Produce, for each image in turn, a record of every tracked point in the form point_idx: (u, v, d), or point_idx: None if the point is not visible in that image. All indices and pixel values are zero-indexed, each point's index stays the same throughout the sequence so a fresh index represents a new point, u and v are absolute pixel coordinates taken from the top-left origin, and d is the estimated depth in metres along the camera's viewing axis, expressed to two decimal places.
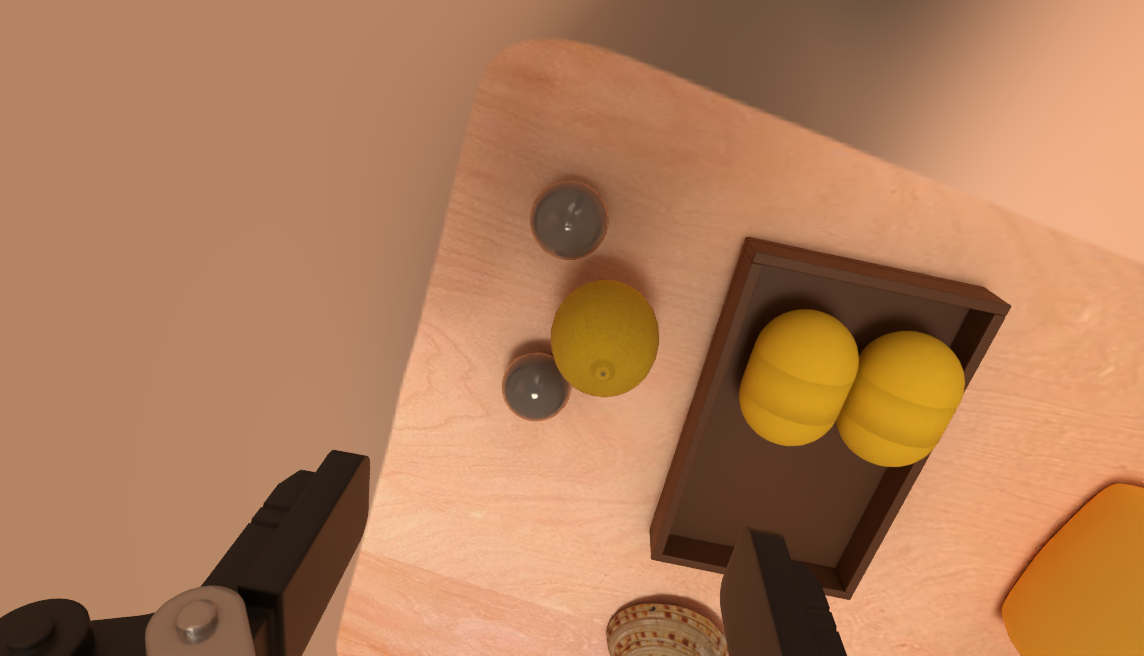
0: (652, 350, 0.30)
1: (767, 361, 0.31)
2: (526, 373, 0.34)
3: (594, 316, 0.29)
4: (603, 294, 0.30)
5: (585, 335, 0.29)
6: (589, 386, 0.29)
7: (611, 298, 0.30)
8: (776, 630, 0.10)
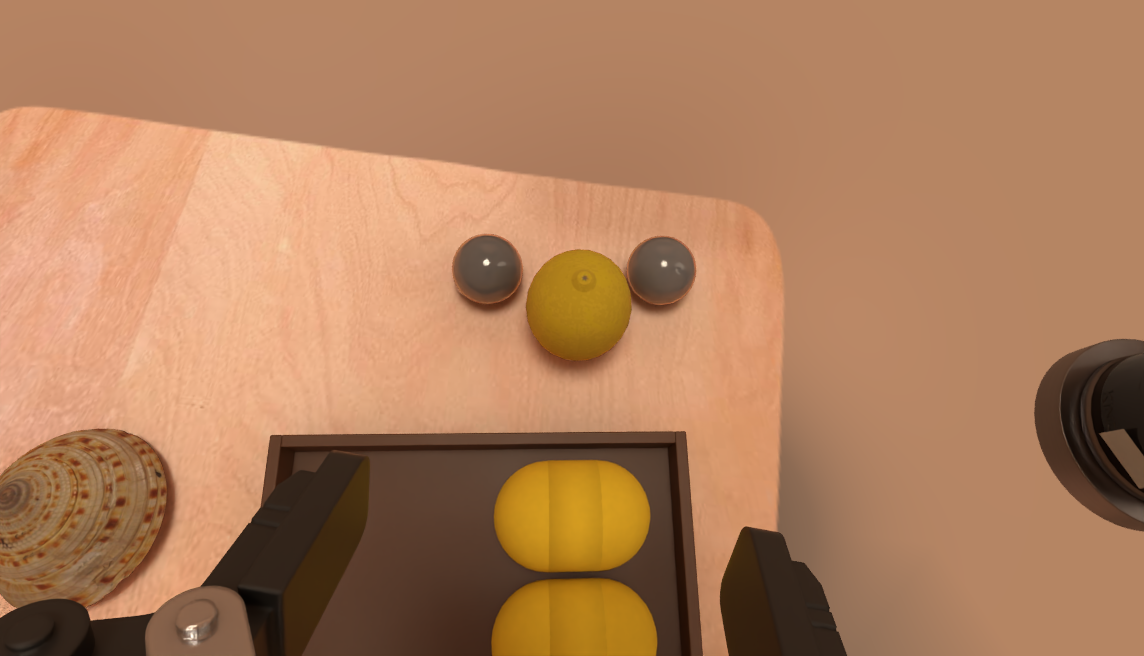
0: (597, 335, 0.30)
1: (597, 464, 0.30)
2: (512, 249, 0.34)
3: (621, 274, 0.31)
4: None
5: (608, 265, 0.30)
6: (559, 275, 0.30)
7: (630, 295, 0.32)
8: (776, 630, 0.10)
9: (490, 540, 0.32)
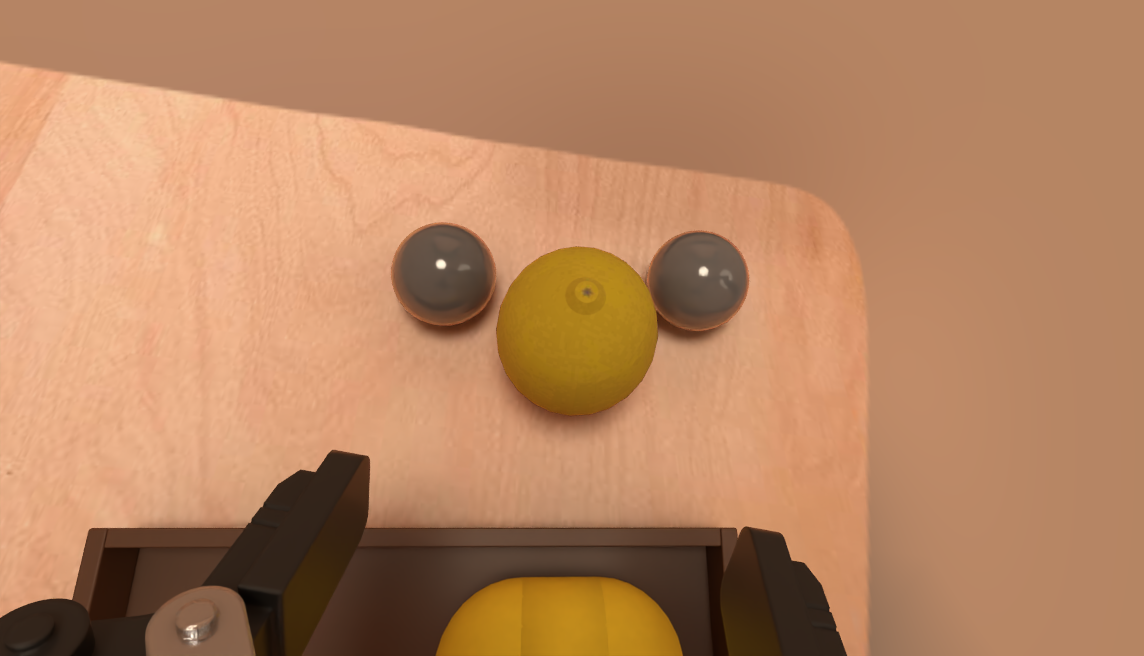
0: (605, 383, 0.19)
1: (602, 591, 0.19)
2: (479, 246, 0.23)
3: (644, 286, 0.20)
4: None
5: (624, 271, 0.19)
6: (545, 287, 0.19)
7: None
8: (776, 630, 0.10)
9: None
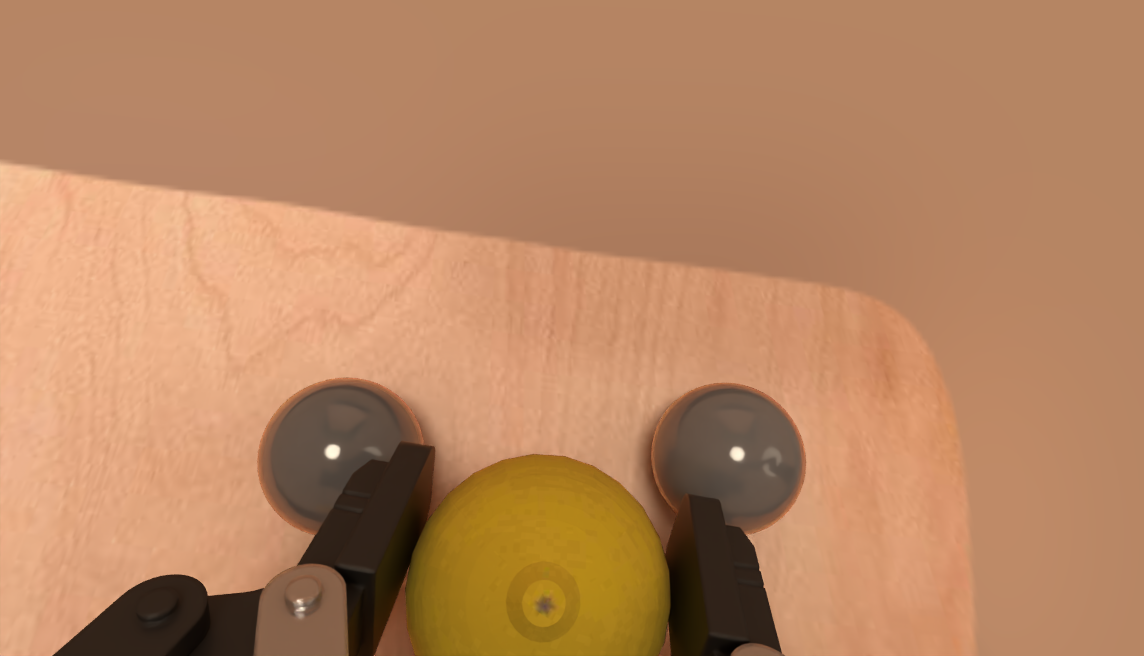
0: None
1: None
2: (393, 422, 0.15)
3: (650, 543, 0.12)
4: None
5: (615, 530, 0.11)
6: (472, 576, 0.10)
7: None
8: (701, 584, 0.11)
9: None
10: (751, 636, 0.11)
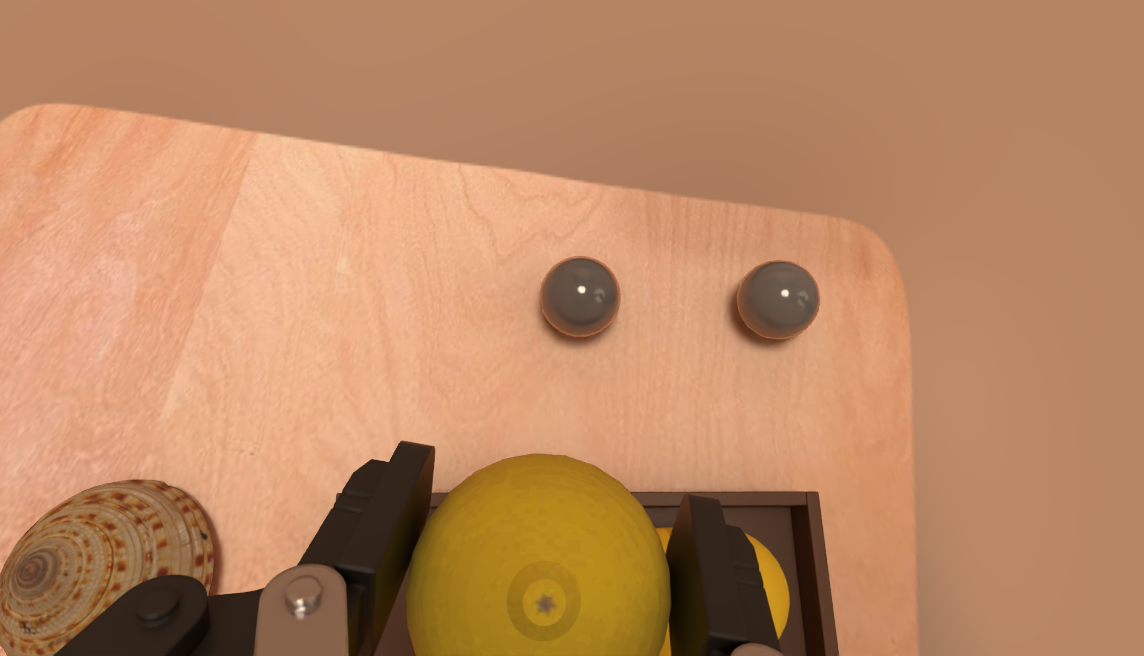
0: None
1: None
2: (611, 275, 0.30)
3: (650, 542, 0.12)
4: None
5: (615, 529, 0.11)
6: (473, 575, 0.10)
7: (669, 576, 0.13)
8: (701, 584, 0.11)
9: None
10: (751, 636, 0.11)
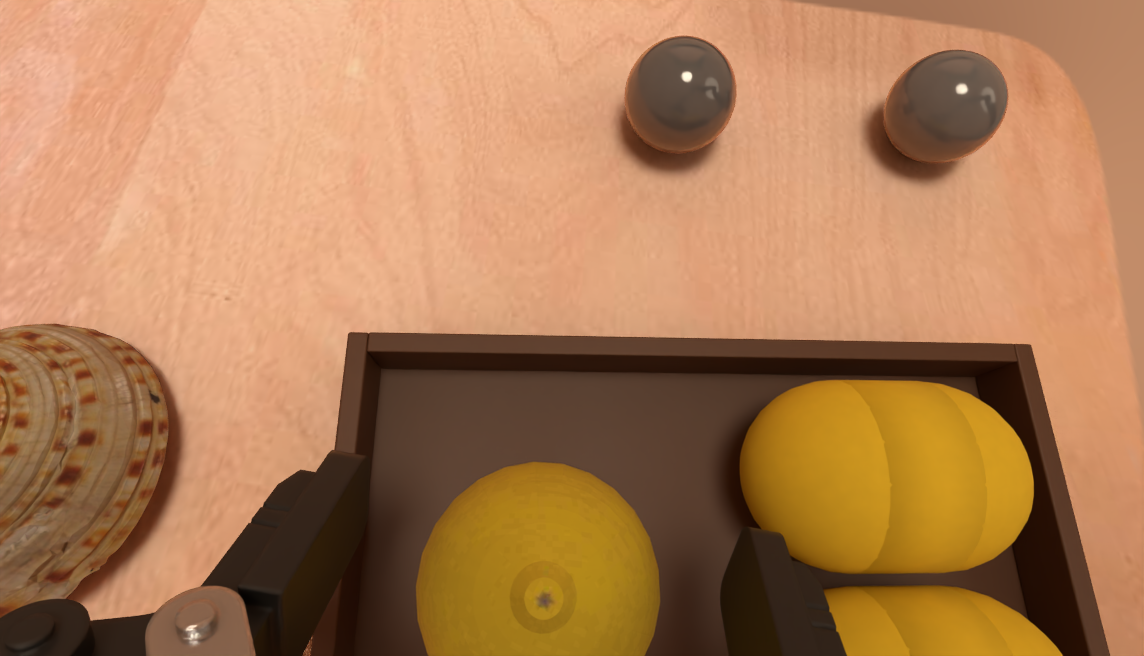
0: None
1: (930, 385, 0.17)
2: (726, 59, 0.22)
3: (640, 544, 0.13)
4: None
5: (608, 532, 0.12)
6: (479, 574, 0.11)
7: (658, 575, 0.14)
8: (776, 630, 0.10)
9: (710, 519, 0.19)
10: None
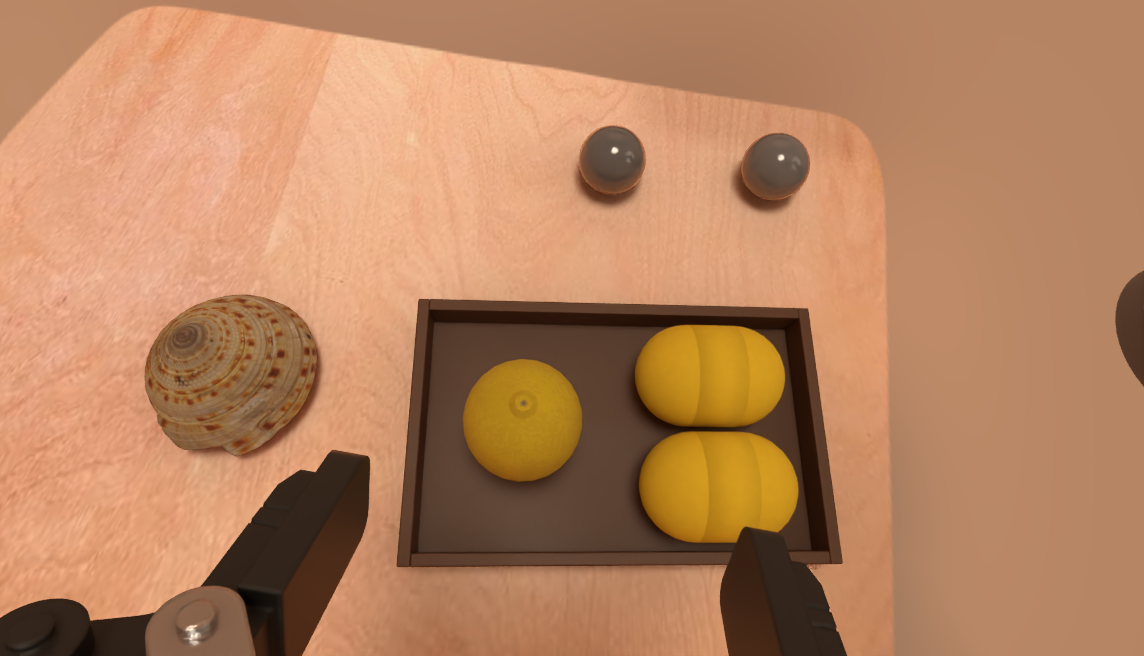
0: (539, 464, 0.26)
1: (735, 327, 0.31)
2: (639, 139, 0.36)
3: (569, 391, 0.27)
4: None
5: (553, 382, 0.27)
6: (495, 397, 0.26)
7: (580, 411, 0.28)
8: (776, 630, 0.10)
9: (622, 407, 0.34)
10: None
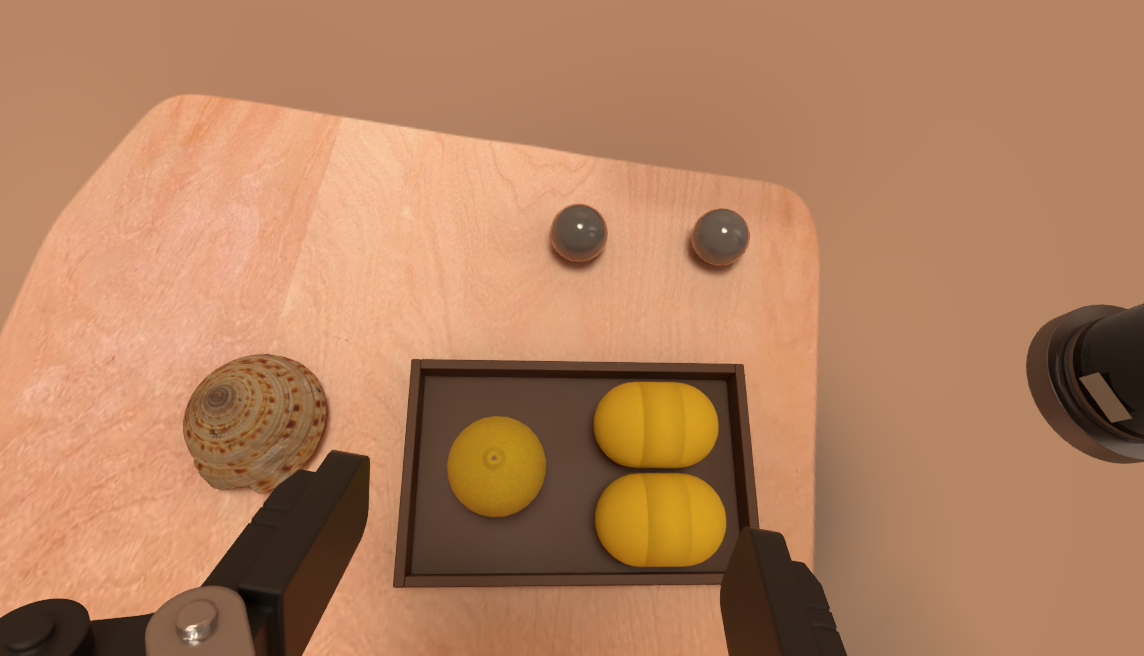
0: (508, 505, 0.32)
1: (677, 384, 0.37)
2: (601, 216, 0.42)
3: (533, 445, 0.33)
4: (543, 453, 0.35)
5: (519, 438, 0.33)
6: (471, 451, 0.32)
7: (543, 460, 0.34)
8: (776, 630, 0.10)
9: (585, 449, 0.40)
10: None
